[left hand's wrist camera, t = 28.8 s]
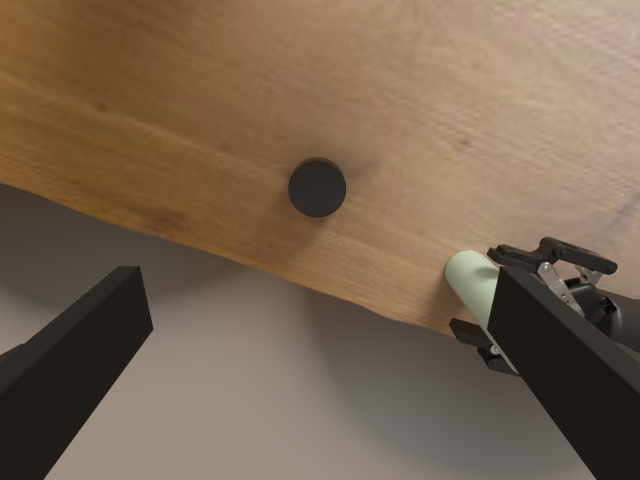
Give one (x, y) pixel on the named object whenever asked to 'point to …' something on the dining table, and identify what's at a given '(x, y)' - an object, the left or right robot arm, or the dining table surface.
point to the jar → (475, 287)
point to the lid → (317, 187)
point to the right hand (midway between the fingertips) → (471, 292)
